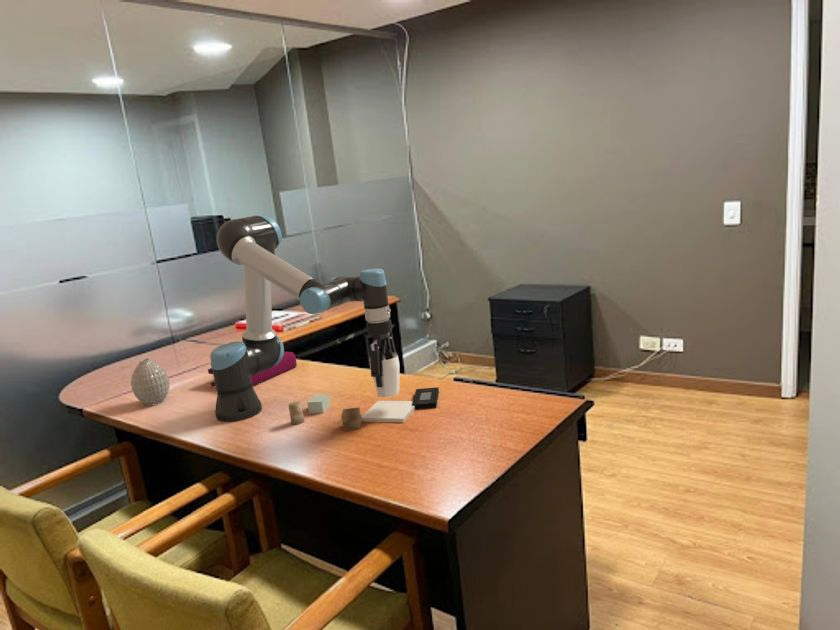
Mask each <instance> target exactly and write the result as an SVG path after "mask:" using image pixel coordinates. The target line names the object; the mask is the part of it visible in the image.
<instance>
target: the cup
mask: <svg viewBox="0 0 840 630" xmlns="http://www.w3.org/2000/svg"><path fill="white" fill-rule="evenodd" d="M392 356H393V358H392V359H389V360H386V359H385V356H383V361H382V366H383V376H384V377H385V385H386V392H387V396H386V397H385V398H390V397H395V396H397V395H398V394H399V393H400V360H399V355H398V353H397V352H396V353H393V352H392ZM369 369H370V370H371V364H370V363H369ZM372 379H373V383H374V386H375V389H376V391H377V387H376V380H375V377H372Z"/></svg>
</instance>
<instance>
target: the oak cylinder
mask: <svg viewBox="0 0 840 630" xmlns="http://www.w3.org/2000/svg"><path fill="white" fill-rule="evenodd" d="M287 406H288V410H289V411H288V412H289V418H290V423H291V425H293V426H295V425H296V426H297V425H301V424H303V423H304V422H305V417H304V412H303V406H302V402H301V401H294V402H291V403H289V404H288V405H287Z"/></svg>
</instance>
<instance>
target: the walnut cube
mask: <svg viewBox="0 0 840 630" xmlns="http://www.w3.org/2000/svg"><path fill="white" fill-rule="evenodd" d="M361 417H362V415H361V409H360V407H351V408H343V409H342V412H341V417H340V418H341V421H342V429H343V432H346V431H348V432H349V431H355V430H361V429H362V428H361V427H362V422H363V421H361Z"/></svg>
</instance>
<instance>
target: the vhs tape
mask: <svg viewBox="0 0 840 630" xmlns="http://www.w3.org/2000/svg"><path fill="white" fill-rule="evenodd" d="M438 394H440V389H439V387H427V388H425V387H424V388H416V389H415V392H414V396H413V399H412V401H413V403H412V406H415V410H426V409H427V410H428V409H437V405H438V401H437V400H439V395H438Z"/></svg>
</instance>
